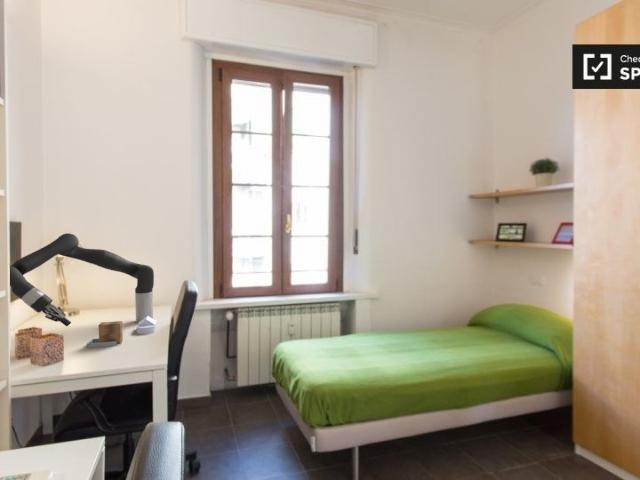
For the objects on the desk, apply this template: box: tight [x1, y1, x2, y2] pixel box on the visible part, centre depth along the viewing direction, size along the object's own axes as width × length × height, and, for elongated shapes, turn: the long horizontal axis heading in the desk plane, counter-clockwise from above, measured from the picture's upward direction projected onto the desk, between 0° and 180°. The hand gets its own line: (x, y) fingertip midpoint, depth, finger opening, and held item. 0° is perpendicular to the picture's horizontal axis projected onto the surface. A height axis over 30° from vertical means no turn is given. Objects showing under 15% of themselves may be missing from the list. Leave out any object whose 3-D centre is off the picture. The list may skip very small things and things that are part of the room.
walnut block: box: [98, 320, 124, 345], centre depth 179 cm, size 9×5×10 cm, turn 107°
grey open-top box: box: [86, 337, 118, 349], centre depth 178 cm, size 12×8×2 cm, turn 107°
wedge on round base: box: [136, 316, 157, 335], centre depth 201 cm, size 9×7×13 cm
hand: (69, 324), depth 173 cm, fingers closed
